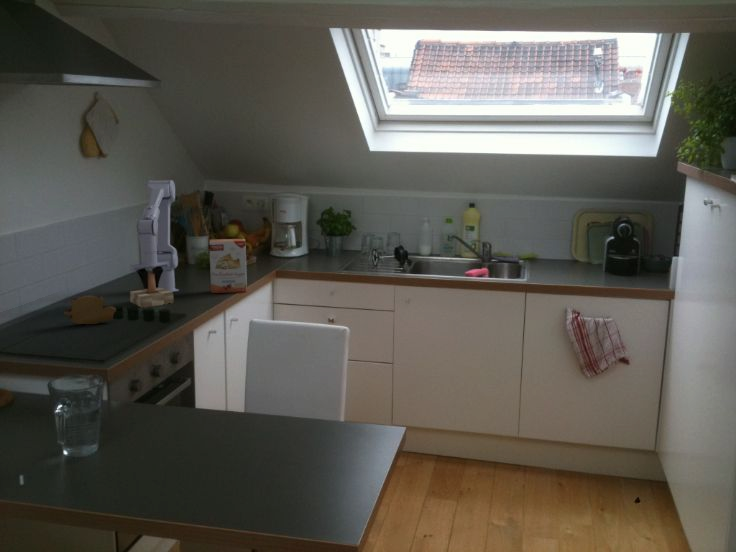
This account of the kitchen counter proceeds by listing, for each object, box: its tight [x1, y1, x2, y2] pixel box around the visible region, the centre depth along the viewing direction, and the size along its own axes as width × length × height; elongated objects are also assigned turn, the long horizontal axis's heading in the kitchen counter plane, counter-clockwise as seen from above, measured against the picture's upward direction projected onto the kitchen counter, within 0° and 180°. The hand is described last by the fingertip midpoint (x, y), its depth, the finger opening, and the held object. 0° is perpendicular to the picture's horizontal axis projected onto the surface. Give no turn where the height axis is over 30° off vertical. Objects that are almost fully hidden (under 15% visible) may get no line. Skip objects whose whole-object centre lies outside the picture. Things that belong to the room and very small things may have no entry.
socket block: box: [129, 287, 175, 309], centre depth 278 cm, size 12×12×4 cm
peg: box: [147, 272, 156, 294], centre depth 277 cm, size 3×3×8 cm
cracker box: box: [208, 238, 248, 294], centre depth 295 cm, size 14×6×21 cm, turn 99°
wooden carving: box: [63, 294, 117, 325], centre depth 247 cm, size 16×5×10 cm, turn 114°
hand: (151, 287), depth 277 cm, fingers closed on peg, 3 cm apart
